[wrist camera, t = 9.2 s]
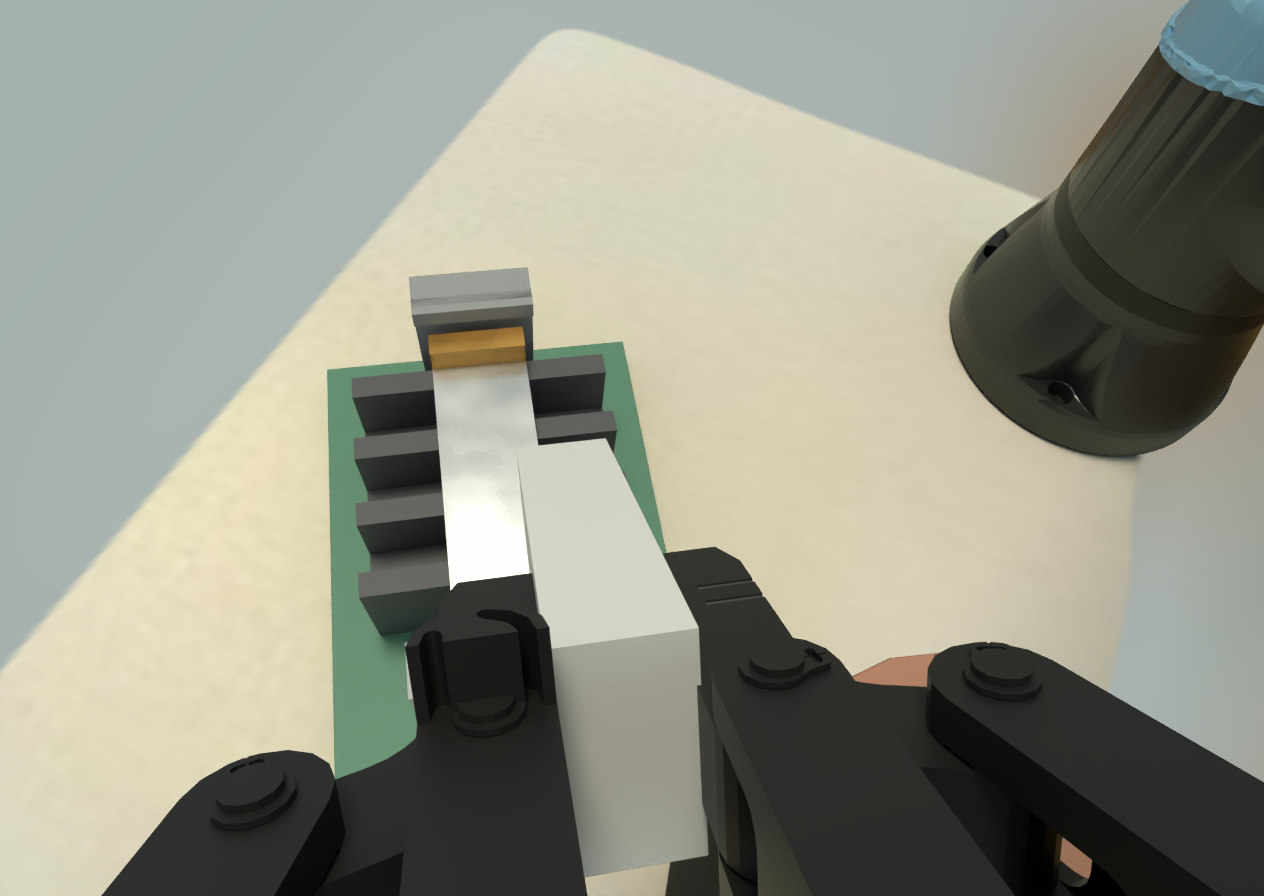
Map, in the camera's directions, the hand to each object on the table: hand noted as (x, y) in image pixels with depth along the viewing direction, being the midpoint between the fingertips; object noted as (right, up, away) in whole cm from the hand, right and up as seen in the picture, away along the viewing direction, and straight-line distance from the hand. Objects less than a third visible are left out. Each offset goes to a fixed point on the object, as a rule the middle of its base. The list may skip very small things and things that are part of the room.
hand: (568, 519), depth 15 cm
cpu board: (-5, -4, +27) cm, 28 cm away
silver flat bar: (-4, -1, +21) cm, 22 cm away
